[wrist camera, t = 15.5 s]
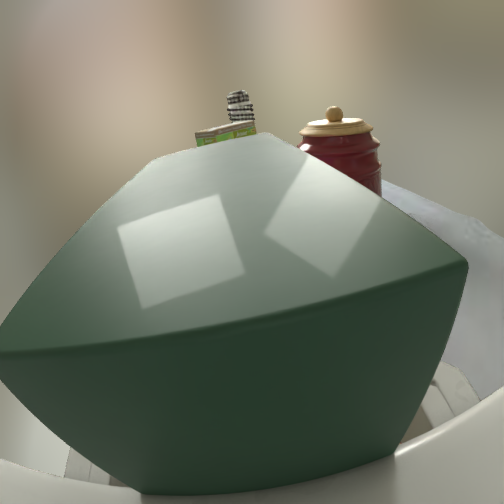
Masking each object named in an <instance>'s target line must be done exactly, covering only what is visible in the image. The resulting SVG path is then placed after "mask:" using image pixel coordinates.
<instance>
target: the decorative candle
mask: <svg viewBox="0 0 504 504" xmlns="http://www.w3.org/2000/svg"><path fill="white" fill-rule="evenodd" d="M227 99H228V104H229V105H228V107H229V108H228V109H227V111H230V113H229V114H228V115H229V116H231V117H230V120H232V123H235V122H242V121H254V120H255V119H254V118H252V117H253V116H254V114H253V113H251V111H253V109H252V108H250V107H252V106H253V105H252V104H250V101H249V96H248V93H246V92H245V91H244V90H241V91H235V92H231V93H229V94H228V96H227Z"/></svg>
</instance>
